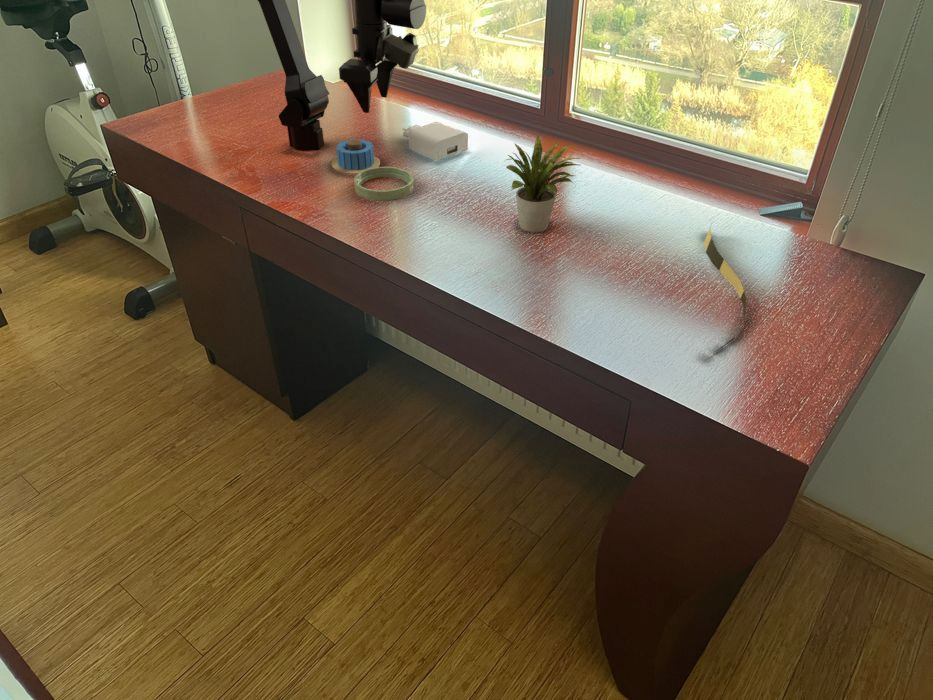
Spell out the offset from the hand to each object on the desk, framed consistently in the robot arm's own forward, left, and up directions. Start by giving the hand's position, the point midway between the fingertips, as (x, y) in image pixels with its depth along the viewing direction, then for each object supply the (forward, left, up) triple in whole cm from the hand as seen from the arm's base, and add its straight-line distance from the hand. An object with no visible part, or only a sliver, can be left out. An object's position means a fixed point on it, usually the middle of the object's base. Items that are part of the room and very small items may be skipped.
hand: (375, 104), depth 147 cm
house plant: (+37, -17, -13) cm, 42 cm away
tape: (+68, -28, -13) cm, 75 cm away
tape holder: (-4, -2, -13) cm, 14 cm away
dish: (+6, -11, -13) cm, 18 cm away
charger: (+7, +12, -13) cm, 19 cm away
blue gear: (-4, -2, -12) cm, 13 cm away
